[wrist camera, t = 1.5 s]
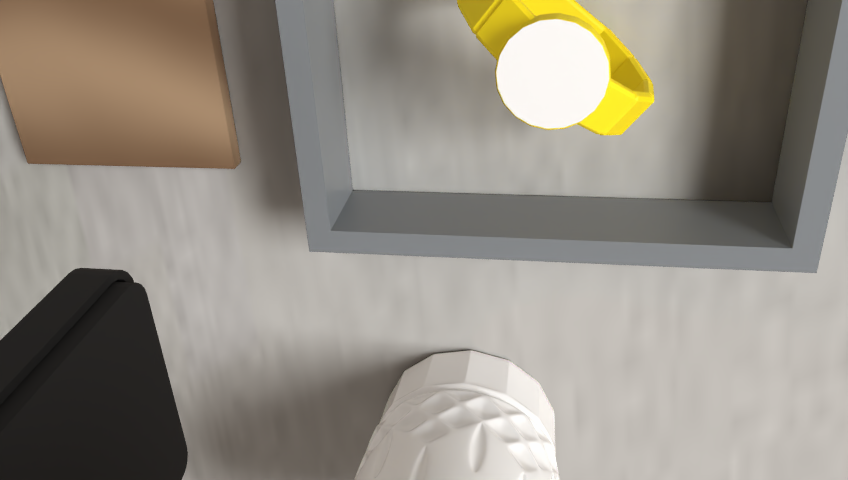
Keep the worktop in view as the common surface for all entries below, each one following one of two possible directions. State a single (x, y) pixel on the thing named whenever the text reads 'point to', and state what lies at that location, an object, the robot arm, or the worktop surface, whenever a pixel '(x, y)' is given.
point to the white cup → (463, 424)
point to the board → (118, 82)
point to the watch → (560, 65)
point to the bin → (571, 216)
